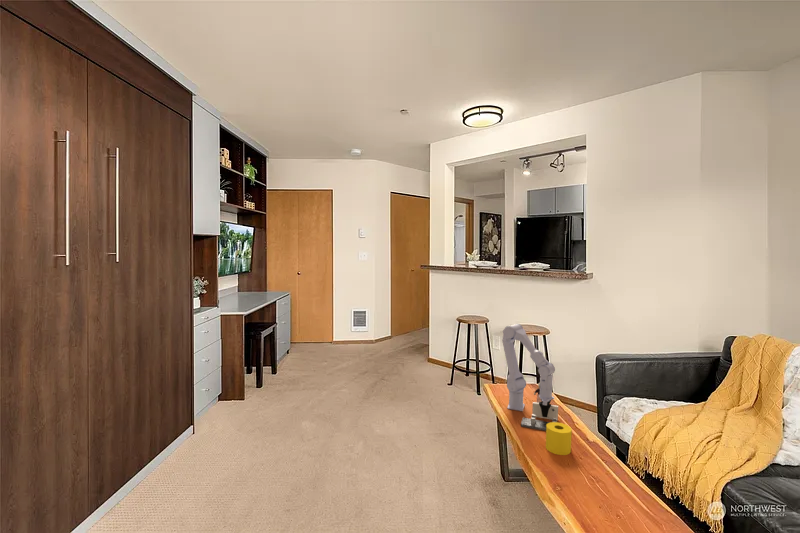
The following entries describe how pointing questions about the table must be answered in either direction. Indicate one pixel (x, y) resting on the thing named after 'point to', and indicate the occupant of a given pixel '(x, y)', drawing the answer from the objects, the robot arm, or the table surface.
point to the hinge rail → (535, 423)
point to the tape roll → (558, 438)
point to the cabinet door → (551, 413)
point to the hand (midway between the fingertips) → (545, 414)
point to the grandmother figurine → (538, 394)
